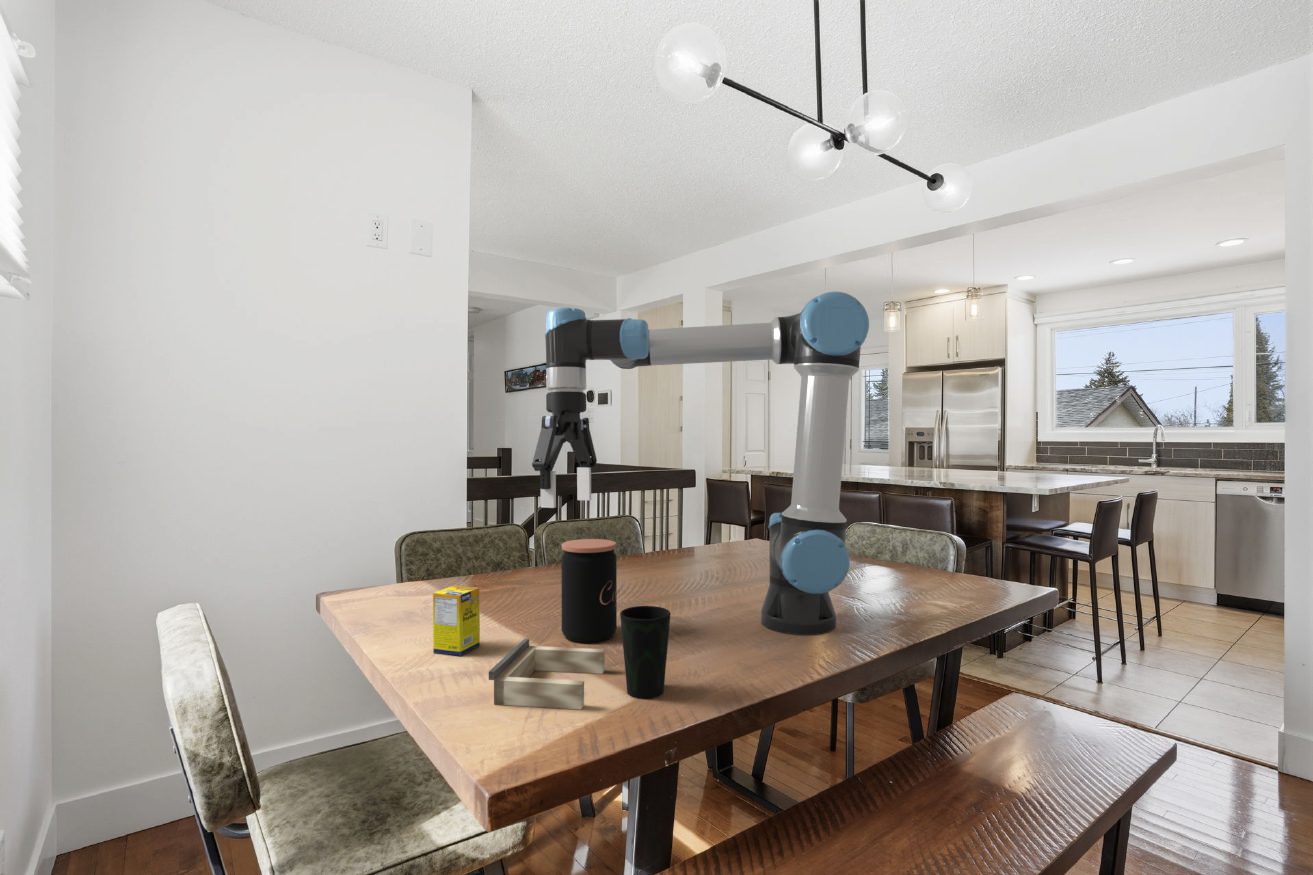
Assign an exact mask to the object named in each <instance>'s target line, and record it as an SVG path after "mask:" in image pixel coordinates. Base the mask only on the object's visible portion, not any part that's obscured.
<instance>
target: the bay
mask: <svg viewBox="0 0 1313 875" xmlns="http://www.w3.org/2000/svg"><path fill="white" fill-rule="evenodd" d="M605 652H606V651H605V648H583V647H562V646H561V647H560V646H559V647H558V646H543V645H541V646H539V645H530V638H524V639H522V640H521V642H519V643H518V644H517V645H516V646H515V647H513V649H511V651H509V653H507V654H506V655H505V656H503V658H502V659H501V660H500V661H499V662H498V663H496V664H495V665H494V666H493V667H492V668H491V669H490V670H489V671H488V681H493V705H497V706H499V705H500V706H512V707H513V706H514V707H515V706H516V707H533V708H548V709H549V708H551V709H567V710H583V708H584V706H585V680H577V679H576V680H574V679H559V678H558V679H555V678H541V677H540V678H538V677H535V678H534V677H530V676H531V675H532V674H533V673H534V672H536V671H539V672H540V671H541V672H557V673H577V674H579V673H580V674H581V673H582V674H596V675H597V674H598V675H599V674H600V675H602V674H604V673H605V670H606V668H605V663H606V662H605V660H606V658H605V655H606V654H605Z"/></svg>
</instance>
